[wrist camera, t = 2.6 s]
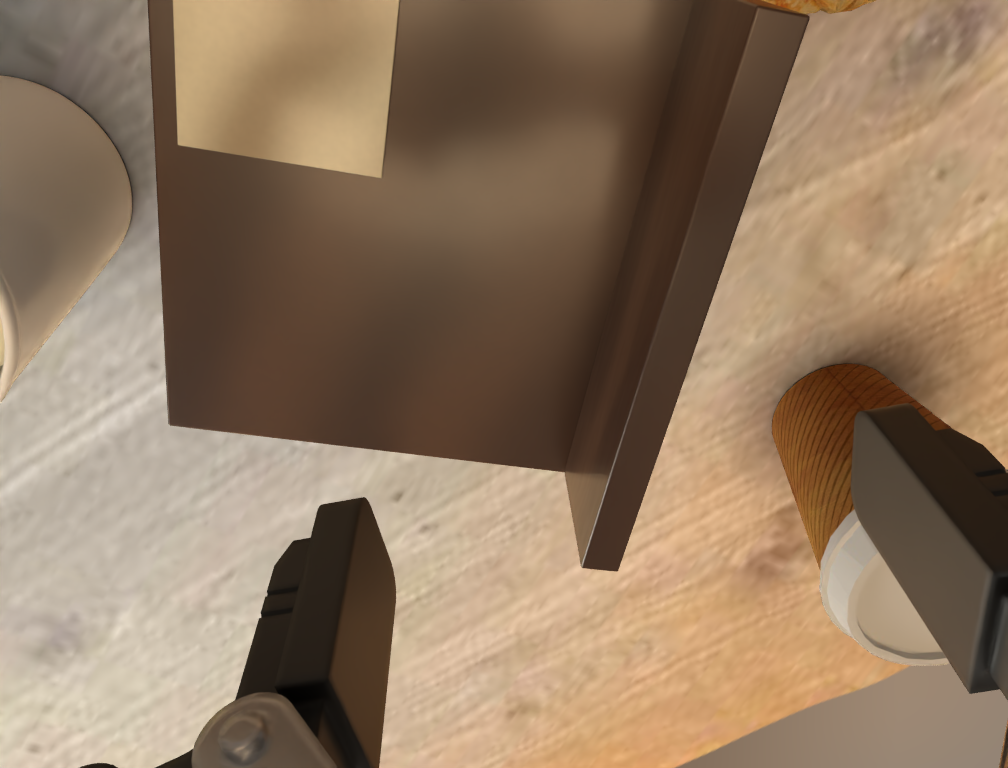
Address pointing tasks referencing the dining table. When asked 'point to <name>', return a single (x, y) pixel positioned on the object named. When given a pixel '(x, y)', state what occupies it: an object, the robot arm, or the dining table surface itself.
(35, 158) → the candle holder
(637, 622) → the dining table surface
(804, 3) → the croissant
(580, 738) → the dining table surface
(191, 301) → the walnut shelf
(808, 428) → the disposable coffee cup
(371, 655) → the robot arm
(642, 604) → the dining table surface
